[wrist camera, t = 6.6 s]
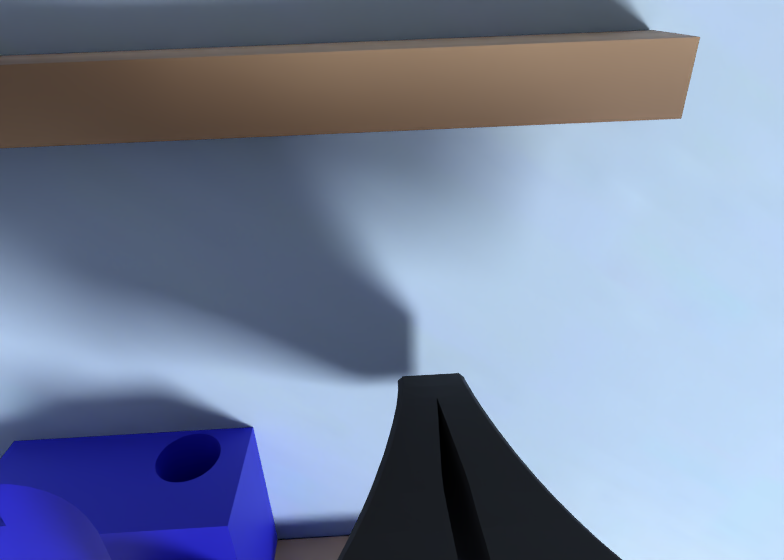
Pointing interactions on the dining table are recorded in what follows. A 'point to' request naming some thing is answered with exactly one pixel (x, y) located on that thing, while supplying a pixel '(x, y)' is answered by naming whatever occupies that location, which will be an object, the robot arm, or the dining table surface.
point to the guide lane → (342, 98)
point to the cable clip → (136, 498)
